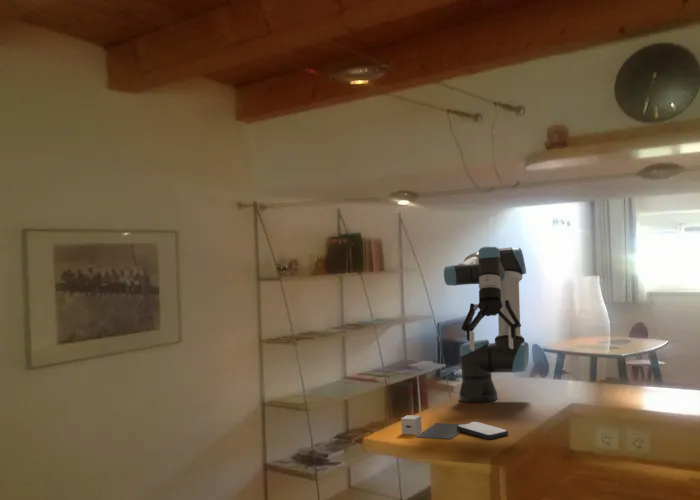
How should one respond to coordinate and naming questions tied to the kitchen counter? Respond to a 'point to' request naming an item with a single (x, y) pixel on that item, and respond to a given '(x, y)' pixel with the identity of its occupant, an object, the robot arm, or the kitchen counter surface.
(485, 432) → the phone case
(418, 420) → the charger block
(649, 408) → the kitchen counter surface
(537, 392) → the kitchen counter surface
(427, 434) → the charging mat
